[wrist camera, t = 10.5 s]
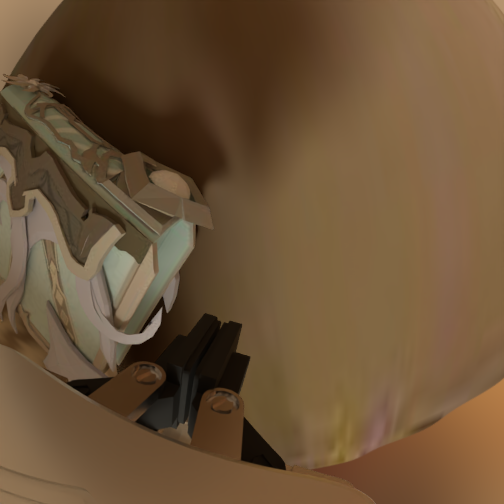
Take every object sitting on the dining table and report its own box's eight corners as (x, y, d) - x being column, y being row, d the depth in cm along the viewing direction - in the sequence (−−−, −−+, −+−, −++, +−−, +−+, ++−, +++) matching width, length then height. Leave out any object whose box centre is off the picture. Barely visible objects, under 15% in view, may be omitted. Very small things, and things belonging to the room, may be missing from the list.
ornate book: (252, 208, 20) (43, 64, 19) (214, 243, 11) (-19, 53, 10) (136, 371, 28) (-7, 219, 26) (93, 428, 19) (-56, 237, 17)
